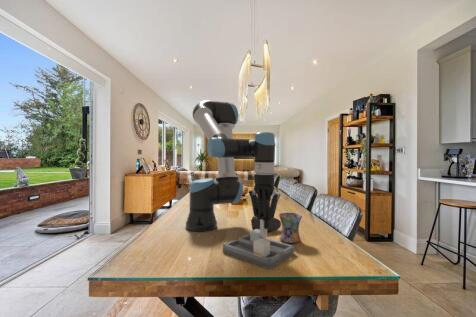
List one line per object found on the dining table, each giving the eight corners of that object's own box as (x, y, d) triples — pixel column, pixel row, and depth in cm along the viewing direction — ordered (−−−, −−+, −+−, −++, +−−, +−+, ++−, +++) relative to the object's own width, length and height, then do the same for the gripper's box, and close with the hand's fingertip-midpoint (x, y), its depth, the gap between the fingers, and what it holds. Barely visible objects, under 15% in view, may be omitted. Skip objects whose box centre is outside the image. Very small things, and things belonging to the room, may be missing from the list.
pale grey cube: (250, 242, 89) (250, 231, 89) (256, 239, 92) (256, 228, 92) (258, 245, 86) (258, 233, 86) (264, 242, 89) (264, 230, 89)
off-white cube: (253, 254, 78) (253, 241, 78) (260, 251, 81) (260, 238, 81) (263, 258, 75) (263, 244, 75) (269, 254, 79) (270, 241, 78)
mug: (303, 245, 92) (303, 218, 92) (279, 244, 92) (280, 217, 92) (298, 235, 104) (298, 211, 104) (277, 234, 104) (277, 210, 104)
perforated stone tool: (279, 228, 113) (279, 214, 113) (283, 232, 108) (283, 217, 108) (249, 230, 111) (249, 215, 111) (251, 233, 105) (251, 218, 105)
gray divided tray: (222, 251, 84) (222, 244, 84) (249, 240, 97) (249, 233, 97) (269, 269, 72) (269, 260, 71) (293, 253, 84) (294, 245, 84)
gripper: (244, 173, 89) (243, 235, 89) (274, 175, 80) (273, 243, 80) (255, 172, 94) (255, 230, 95) (284, 174, 86) (283, 237, 86)
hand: (263, 236), depth 88 cm, fingers closed
